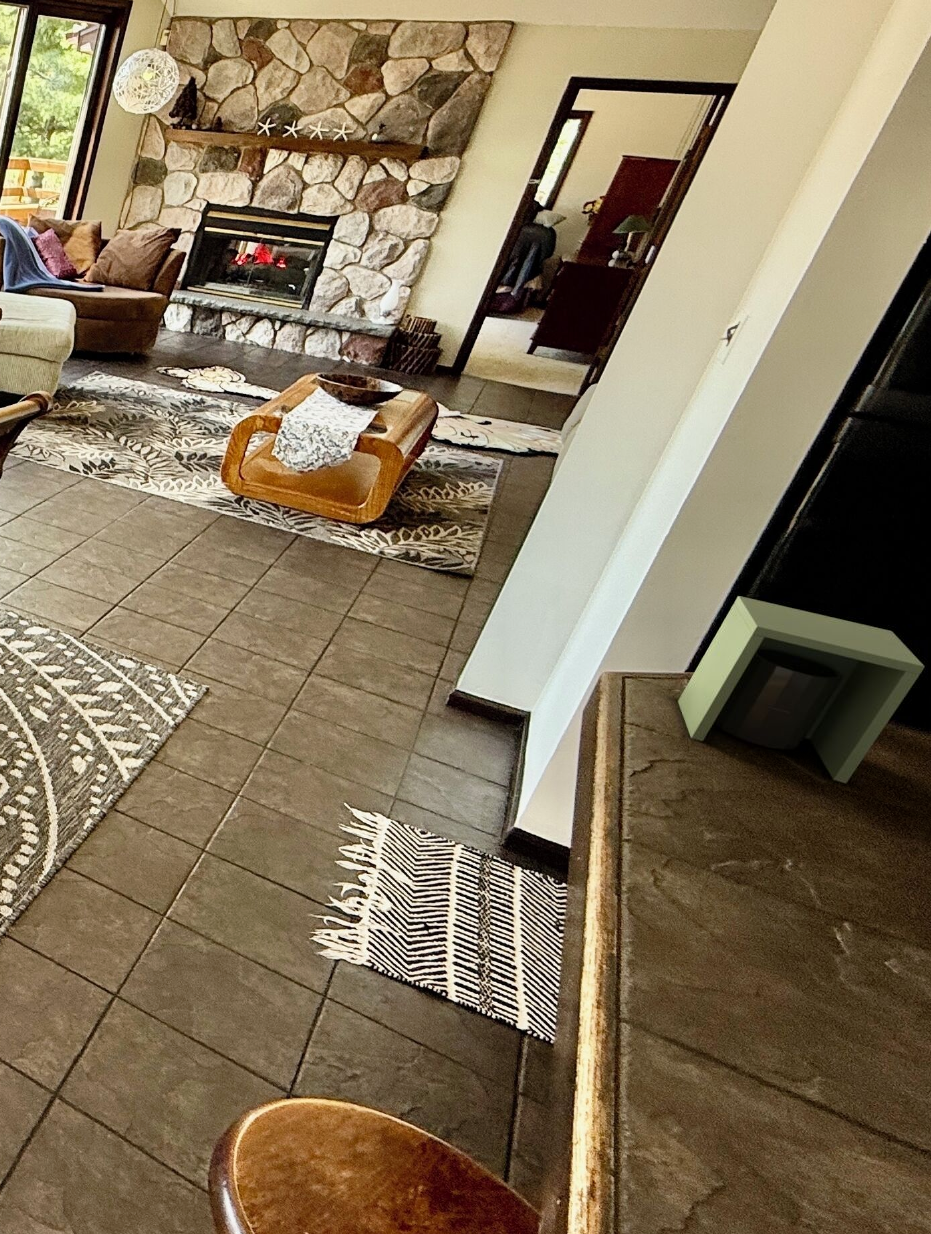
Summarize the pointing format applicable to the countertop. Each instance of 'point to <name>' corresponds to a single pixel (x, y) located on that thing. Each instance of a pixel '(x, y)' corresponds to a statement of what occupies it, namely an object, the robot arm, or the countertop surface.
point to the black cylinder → (777, 699)
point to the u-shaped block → (857, 651)
